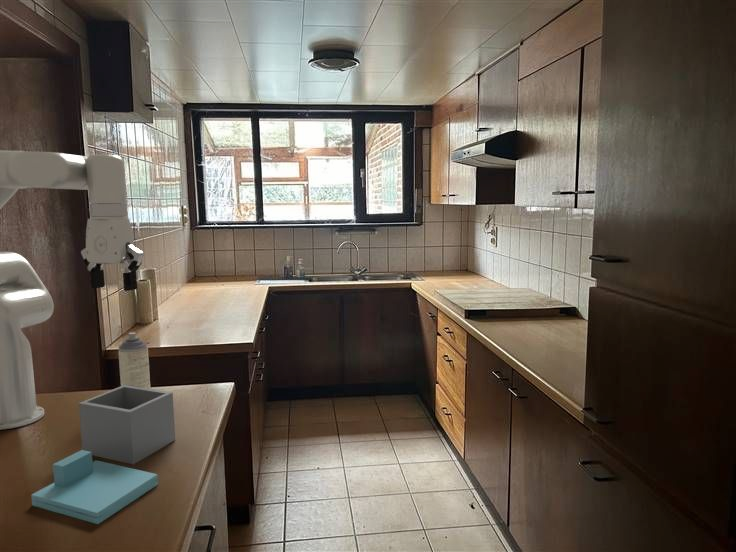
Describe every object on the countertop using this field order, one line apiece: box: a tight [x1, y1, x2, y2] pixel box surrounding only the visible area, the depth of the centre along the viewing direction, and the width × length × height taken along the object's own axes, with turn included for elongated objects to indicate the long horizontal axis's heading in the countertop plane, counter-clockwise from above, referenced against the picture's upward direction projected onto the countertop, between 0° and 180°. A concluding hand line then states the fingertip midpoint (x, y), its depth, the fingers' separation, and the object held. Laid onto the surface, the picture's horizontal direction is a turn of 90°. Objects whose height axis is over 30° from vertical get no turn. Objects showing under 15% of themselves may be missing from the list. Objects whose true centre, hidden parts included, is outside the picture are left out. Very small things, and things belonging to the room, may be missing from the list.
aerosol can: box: [118, 331, 151, 389], centre depth 134 cm, size 7×7×20 cm
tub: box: [78, 385, 176, 465], centre depth 114 cm, size 14×12×11 cm
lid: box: [30, 449, 159, 525], centre depth 95 cm, size 15×13×6 cm
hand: (114, 288), depth 119 cm, fingers open, 9 cm apart
